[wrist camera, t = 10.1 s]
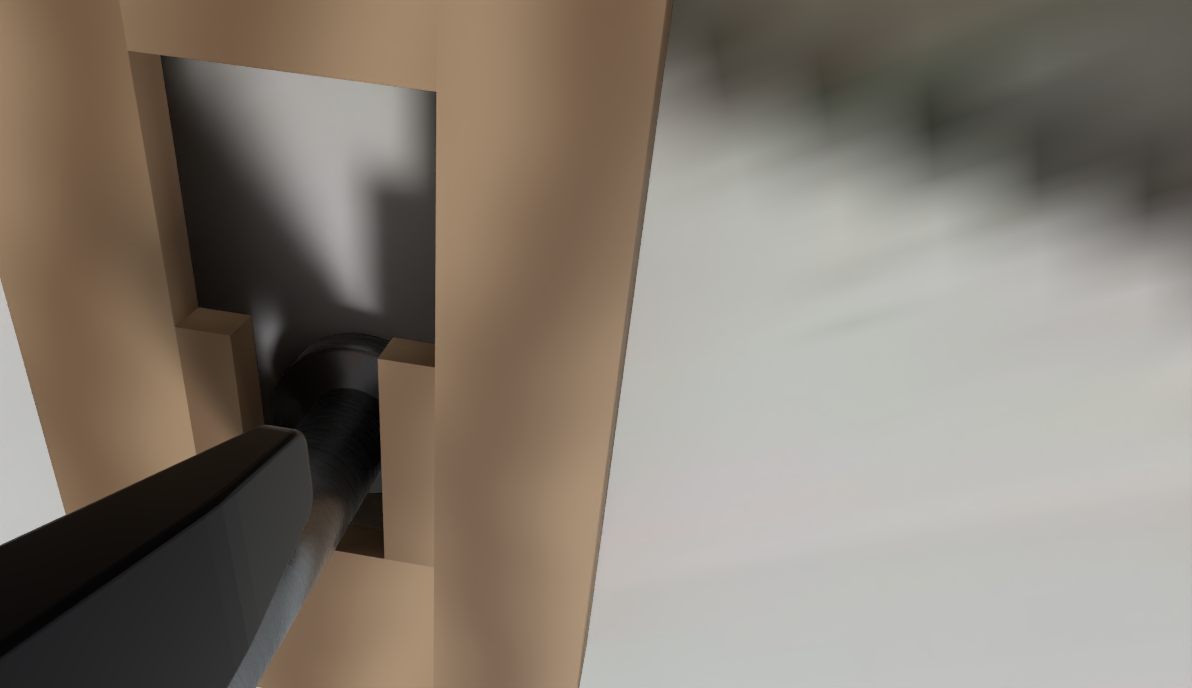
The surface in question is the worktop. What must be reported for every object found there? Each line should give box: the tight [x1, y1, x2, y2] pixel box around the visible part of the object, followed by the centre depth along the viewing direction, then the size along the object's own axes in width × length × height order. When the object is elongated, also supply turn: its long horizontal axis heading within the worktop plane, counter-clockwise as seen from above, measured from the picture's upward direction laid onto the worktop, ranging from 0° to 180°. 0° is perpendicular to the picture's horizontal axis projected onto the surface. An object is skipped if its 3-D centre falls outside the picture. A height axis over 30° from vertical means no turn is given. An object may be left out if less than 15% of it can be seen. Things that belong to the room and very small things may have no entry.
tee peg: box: [228, 333, 389, 688], centre depth 19 cm, size 5×5×10 cm
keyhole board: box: [0, 0, 673, 688], centre depth 21 cm, size 14×22×4 cm, turn 174°
